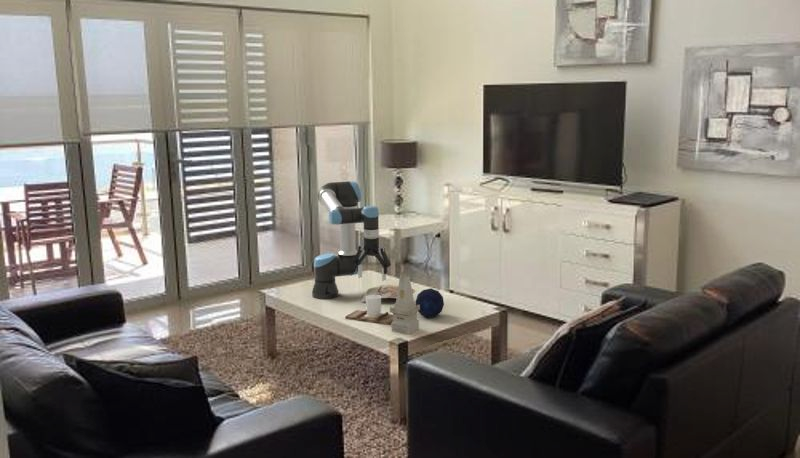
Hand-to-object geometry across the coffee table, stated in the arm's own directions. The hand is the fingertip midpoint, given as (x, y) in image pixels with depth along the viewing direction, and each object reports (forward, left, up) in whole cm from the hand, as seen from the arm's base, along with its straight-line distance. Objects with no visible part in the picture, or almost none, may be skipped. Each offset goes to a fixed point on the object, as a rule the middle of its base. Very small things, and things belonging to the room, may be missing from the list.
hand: (372, 278), depth 350 cm
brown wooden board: (0, 0, -21) cm, 21 cm away
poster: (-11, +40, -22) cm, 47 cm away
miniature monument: (+23, -10, -21) cm, 33 cm away
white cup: (+1, 0, -19) cm, 19 cm away
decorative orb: (+25, +15, -21) cm, 36 cm away
